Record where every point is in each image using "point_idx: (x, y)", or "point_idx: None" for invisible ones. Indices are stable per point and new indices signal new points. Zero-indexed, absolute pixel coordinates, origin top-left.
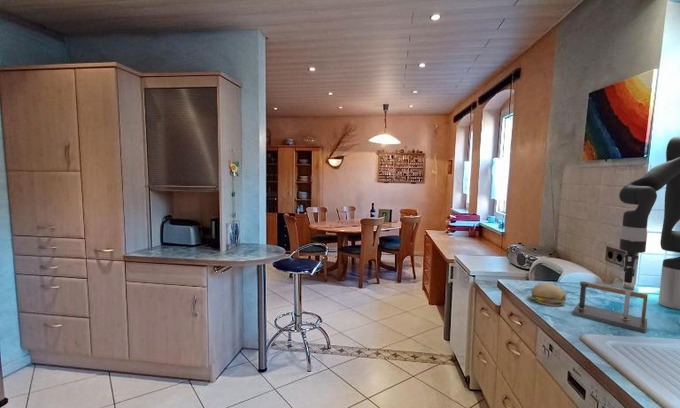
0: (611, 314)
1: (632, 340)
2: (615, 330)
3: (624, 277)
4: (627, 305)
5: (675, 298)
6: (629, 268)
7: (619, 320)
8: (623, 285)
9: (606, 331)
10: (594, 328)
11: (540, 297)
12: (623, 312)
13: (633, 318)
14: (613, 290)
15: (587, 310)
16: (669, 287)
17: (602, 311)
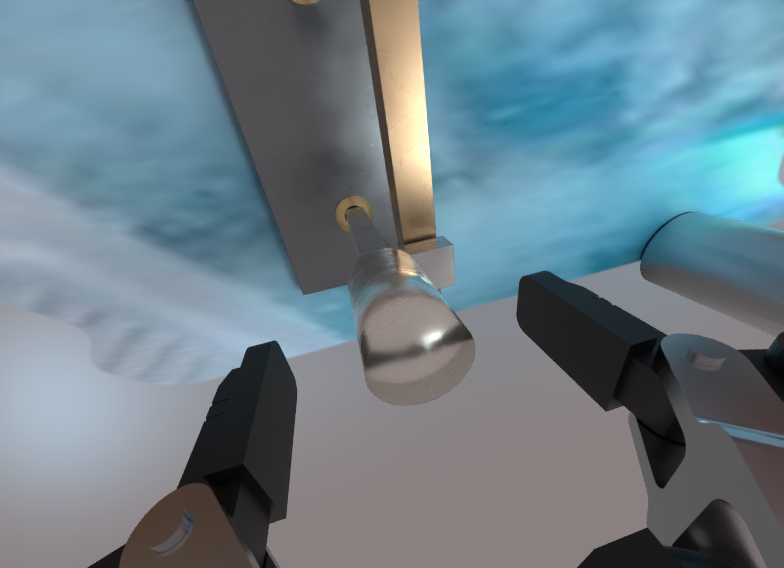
0: (357, 153)
1: (169, 291)
2: (205, 218)
3: (235, 387)
4: (354, 242)
5: (682, 277)
6: (618, 365)
7: (304, 206)
8: (366, 266)
9: (139, 199)
10: (102, 146)
11: None
12: (347, 215)
13: (392, 232)
14: (388, 161)
15: (290, 22)
16: (744, 276)
17: (363, 102)
